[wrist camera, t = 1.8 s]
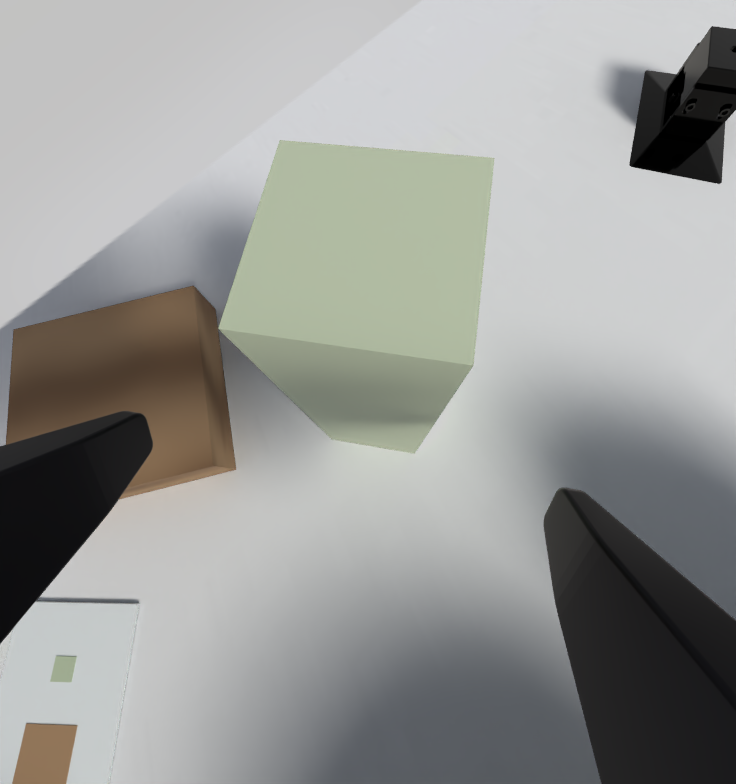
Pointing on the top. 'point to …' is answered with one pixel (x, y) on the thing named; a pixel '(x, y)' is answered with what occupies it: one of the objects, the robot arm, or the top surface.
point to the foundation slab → (130, 381)
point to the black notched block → (688, 112)
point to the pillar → (364, 285)
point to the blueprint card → (64, 692)
